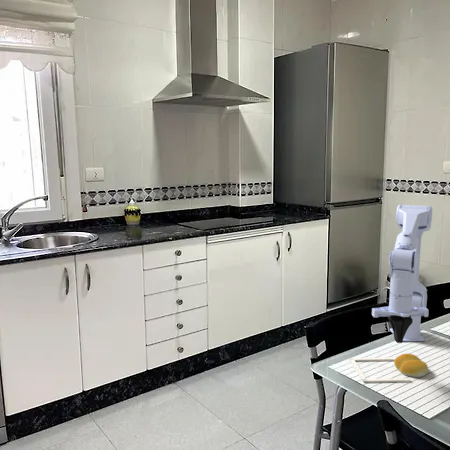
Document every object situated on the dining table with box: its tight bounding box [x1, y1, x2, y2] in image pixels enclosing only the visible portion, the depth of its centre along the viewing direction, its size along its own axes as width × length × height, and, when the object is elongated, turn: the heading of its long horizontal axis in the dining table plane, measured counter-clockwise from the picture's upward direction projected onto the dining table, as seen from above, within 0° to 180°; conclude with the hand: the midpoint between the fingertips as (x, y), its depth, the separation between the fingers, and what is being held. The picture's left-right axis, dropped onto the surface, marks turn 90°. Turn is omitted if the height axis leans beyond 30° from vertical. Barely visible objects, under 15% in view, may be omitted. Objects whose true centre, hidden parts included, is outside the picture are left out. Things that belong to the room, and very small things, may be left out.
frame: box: [349, 357, 412, 384], centre depth 126 cm, size 13×12×1 cm
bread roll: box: [393, 353, 429, 378], centre depth 126 cm, size 8×9×4 cm
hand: (398, 341), depth 123 cm, fingers closed
